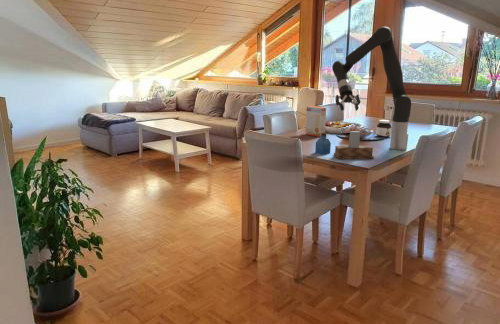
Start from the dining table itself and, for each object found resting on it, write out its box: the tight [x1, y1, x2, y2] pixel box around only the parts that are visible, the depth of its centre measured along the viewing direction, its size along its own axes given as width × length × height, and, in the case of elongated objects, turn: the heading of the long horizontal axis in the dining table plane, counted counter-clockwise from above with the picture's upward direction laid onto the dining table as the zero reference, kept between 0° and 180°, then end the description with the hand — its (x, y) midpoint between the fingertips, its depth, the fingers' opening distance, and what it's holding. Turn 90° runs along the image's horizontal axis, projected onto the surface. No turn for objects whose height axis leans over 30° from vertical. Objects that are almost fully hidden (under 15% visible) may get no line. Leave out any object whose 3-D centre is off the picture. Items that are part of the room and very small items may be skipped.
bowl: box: [325, 120, 355, 135], centre depth 300 cm, size 30×30×8 cm
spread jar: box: [375, 119, 392, 138], centre depth 281 cm, size 12×11×12 cm
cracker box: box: [305, 105, 327, 138], centre depth 281 cm, size 14×6×21 cm, turn 40°
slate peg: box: [348, 131, 361, 148], centre depth 221 cm, size 4×4×9 cm
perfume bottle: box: [314, 132, 332, 155], centre depth 231 cm, size 6×6×12 cm
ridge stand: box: [333, 145, 375, 160], centre depth 223 cm, size 20×10×6 cm, turn 95°
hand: (350, 109), depth 230 cm, fingers open, 8 cm apart
